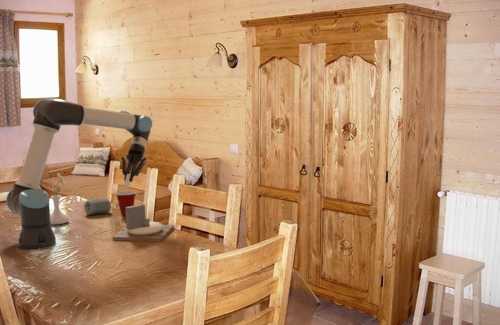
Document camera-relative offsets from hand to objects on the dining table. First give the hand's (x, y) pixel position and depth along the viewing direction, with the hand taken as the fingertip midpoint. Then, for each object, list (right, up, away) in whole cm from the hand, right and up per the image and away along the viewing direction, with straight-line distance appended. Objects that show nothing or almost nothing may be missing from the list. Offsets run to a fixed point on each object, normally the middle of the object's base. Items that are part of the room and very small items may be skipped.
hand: (126, 186), depth 260 cm
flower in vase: (-36, -19, +11) cm, 42 cm away
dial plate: (+10, -21, -9) cm, 25 cm away
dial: (+10, -20, -9) cm, 24 cm away
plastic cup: (-6, -16, +27) cm, 32 cm away
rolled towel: (-22, -16, +29) cm, 40 cm away
